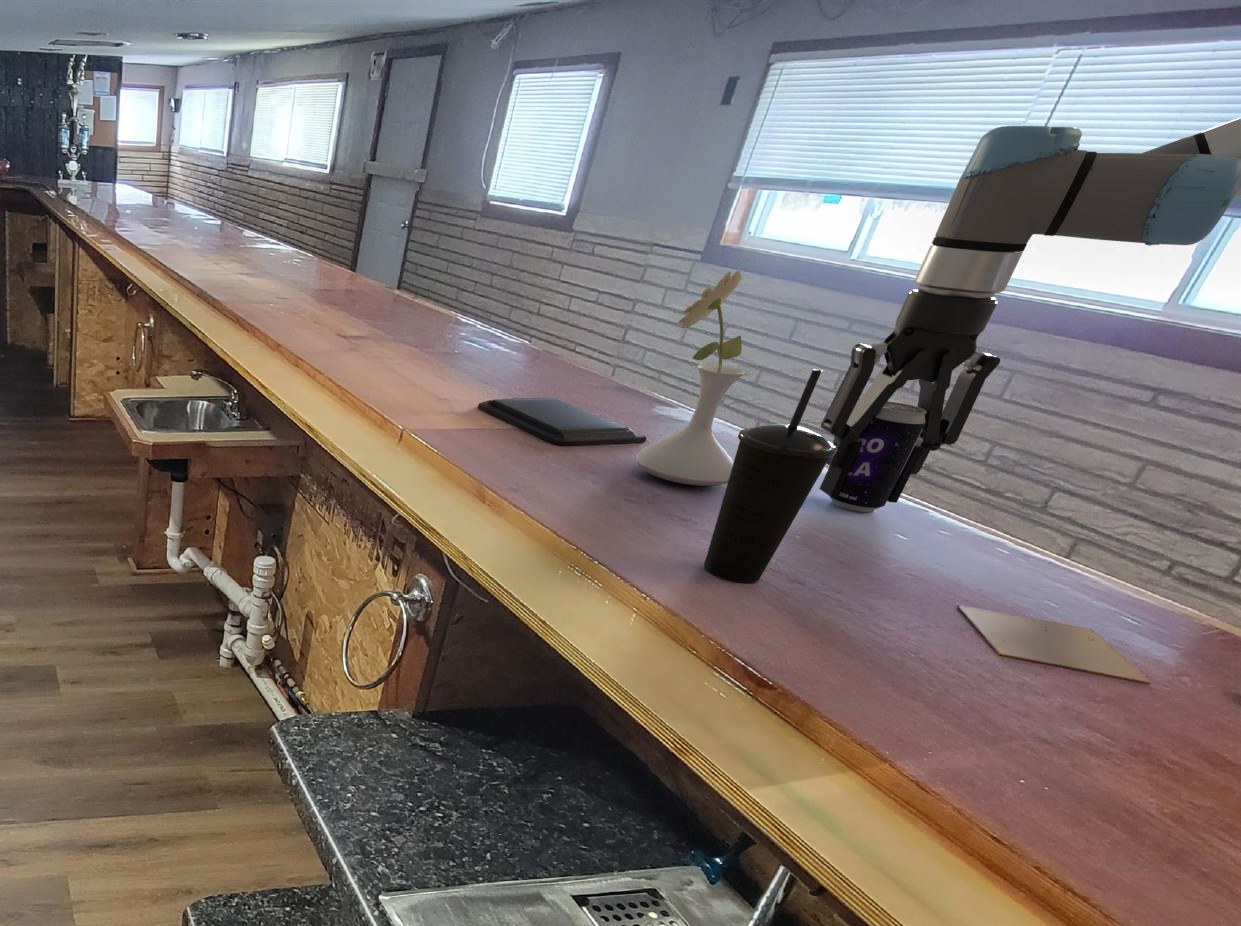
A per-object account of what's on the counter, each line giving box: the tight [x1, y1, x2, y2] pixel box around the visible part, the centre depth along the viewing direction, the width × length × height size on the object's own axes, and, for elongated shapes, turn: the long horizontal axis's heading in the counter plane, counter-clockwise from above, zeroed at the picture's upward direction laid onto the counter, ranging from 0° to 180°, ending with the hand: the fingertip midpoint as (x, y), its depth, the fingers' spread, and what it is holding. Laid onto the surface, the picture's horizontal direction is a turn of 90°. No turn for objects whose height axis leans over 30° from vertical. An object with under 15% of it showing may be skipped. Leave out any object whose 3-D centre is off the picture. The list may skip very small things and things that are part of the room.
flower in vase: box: [634, 269, 746, 487], centre depth 107 cm, size 13×11×25 cm
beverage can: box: [829, 401, 927, 513], centre depth 104 cm, size 6×6×12 cm
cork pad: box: [956, 604, 1152, 684], centre depth 78 cm, size 10×10×1 cm
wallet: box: [477, 397, 648, 446], centre depth 133 cm, size 20×2×15 cm
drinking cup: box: [703, 368, 837, 584], centre depth 83 cm, size 8×8×20 cm
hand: (857, 495), depth 106 cm, fingers closed on beverage can, 6 cm apart
